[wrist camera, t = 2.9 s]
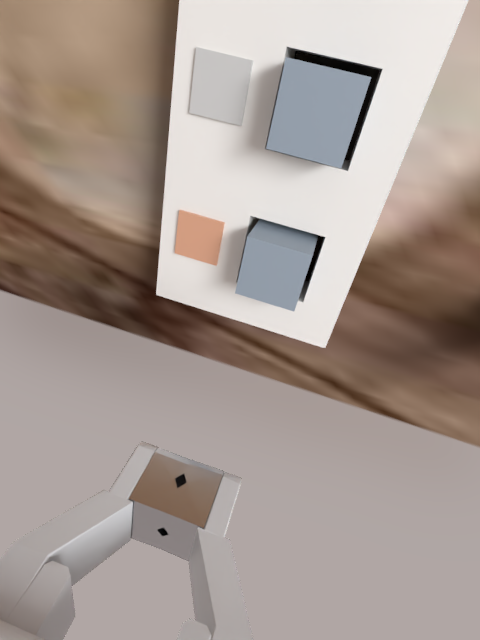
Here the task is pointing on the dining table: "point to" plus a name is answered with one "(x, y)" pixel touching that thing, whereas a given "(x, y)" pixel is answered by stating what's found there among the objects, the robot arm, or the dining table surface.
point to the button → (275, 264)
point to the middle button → (316, 111)
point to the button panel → (278, 168)
